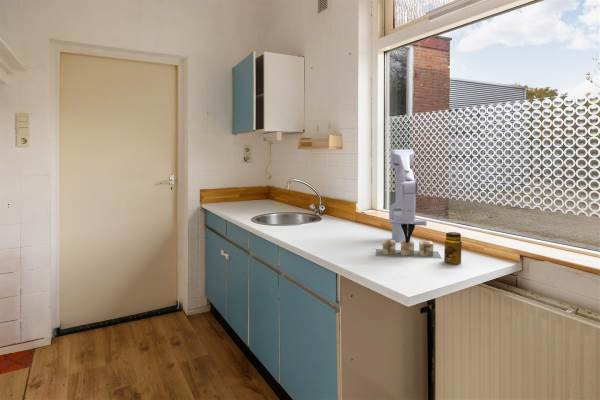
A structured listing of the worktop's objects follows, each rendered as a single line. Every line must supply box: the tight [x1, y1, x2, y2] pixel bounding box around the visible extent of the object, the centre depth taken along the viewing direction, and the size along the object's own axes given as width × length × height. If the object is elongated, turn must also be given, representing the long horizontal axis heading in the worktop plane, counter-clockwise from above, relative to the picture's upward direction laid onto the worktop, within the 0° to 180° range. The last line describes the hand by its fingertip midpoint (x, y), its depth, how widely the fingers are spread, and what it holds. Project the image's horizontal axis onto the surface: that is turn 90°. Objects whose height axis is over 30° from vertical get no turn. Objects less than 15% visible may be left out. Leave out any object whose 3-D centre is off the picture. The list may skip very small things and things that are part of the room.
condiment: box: [443, 231, 463, 266], centre depth 148 cm, size 7×8×12 cm
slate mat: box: [375, 248, 443, 259], centre depth 161 cm, size 26×11×1 cm, turn 79°
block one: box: [382, 239, 396, 255], centre depth 162 cm, size 5×5×5 cm
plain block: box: [400, 240, 415, 255], centre depth 161 cm, size 5×5×5 cm
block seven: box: [418, 240, 434, 256], centre depth 159 cm, size 5×5×5 cm
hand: (407, 242), depth 161 cm, fingers closed, pressing on plain block
